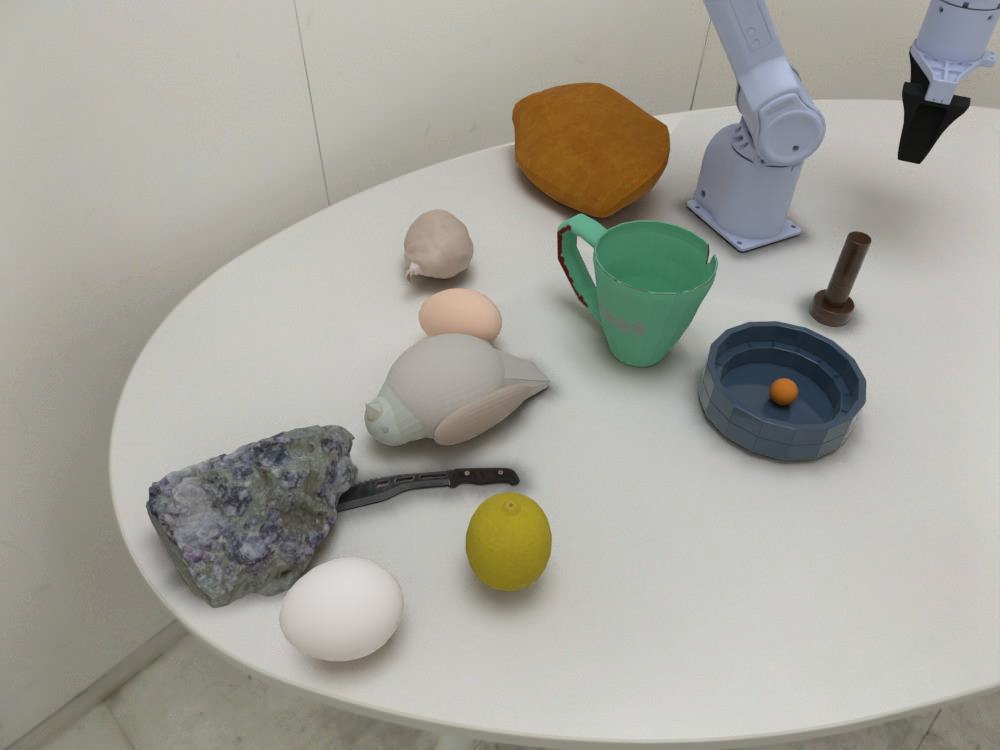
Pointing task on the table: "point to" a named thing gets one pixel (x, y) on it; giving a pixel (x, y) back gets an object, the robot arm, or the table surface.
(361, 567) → the egg
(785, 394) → the ball
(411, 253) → the garlic bulb
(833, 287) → the coffee tamper
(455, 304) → the egg
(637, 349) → the mug
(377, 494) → the knife
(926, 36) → the robot arm
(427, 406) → the decorative bird
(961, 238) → the table surface
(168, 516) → the mineral rock
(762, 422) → the bowl
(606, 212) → the bread
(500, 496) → the lemon
